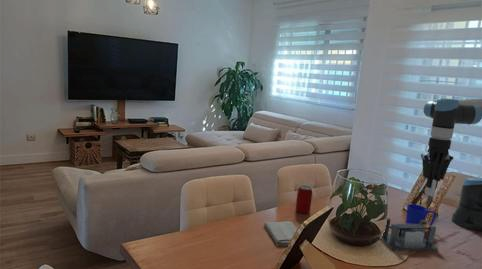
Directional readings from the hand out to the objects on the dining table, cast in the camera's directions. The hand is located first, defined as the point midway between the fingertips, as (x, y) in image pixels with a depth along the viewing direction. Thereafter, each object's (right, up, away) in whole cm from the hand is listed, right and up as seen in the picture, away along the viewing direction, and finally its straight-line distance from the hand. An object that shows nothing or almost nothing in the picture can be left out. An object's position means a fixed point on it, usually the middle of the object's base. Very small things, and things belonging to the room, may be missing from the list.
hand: (429, 195), depth 141 cm
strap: (-7, -14, +1) cm, 15 cm away
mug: (+4, -18, +17) cm, 26 cm away
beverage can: (-47, -12, +25) cm, 55 cm away
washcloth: (-59, -17, -1) cm, 61 cm away
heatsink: (-9, -20, +2) cm, 22 cm away
